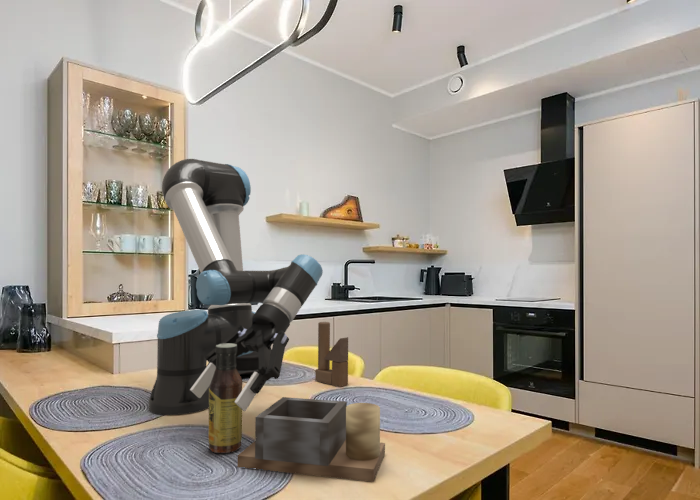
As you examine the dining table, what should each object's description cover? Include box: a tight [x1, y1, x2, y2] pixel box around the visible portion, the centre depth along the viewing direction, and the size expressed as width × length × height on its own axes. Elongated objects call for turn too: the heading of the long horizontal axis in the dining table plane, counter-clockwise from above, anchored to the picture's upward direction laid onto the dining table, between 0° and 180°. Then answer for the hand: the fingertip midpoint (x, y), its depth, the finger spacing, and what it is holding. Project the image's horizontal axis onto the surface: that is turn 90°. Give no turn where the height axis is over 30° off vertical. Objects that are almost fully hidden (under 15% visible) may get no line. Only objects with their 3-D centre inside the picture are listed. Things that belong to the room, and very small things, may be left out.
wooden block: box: [314, 321, 349, 388], centre depth 143 cm, size 4×11×18 cm, turn 47°
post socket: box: [236, 396, 386, 483], centre depth 86 cm, size 24×13×10 cm, turn 77°
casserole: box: [236, 348, 272, 376], centre depth 158 cm, size 25×19×8 cm
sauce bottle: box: [207, 343, 243, 454], centre depth 91 cm, size 6×6×20 cm
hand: (216, 400), depth 89 cm, fingers open, 13 cm apart
